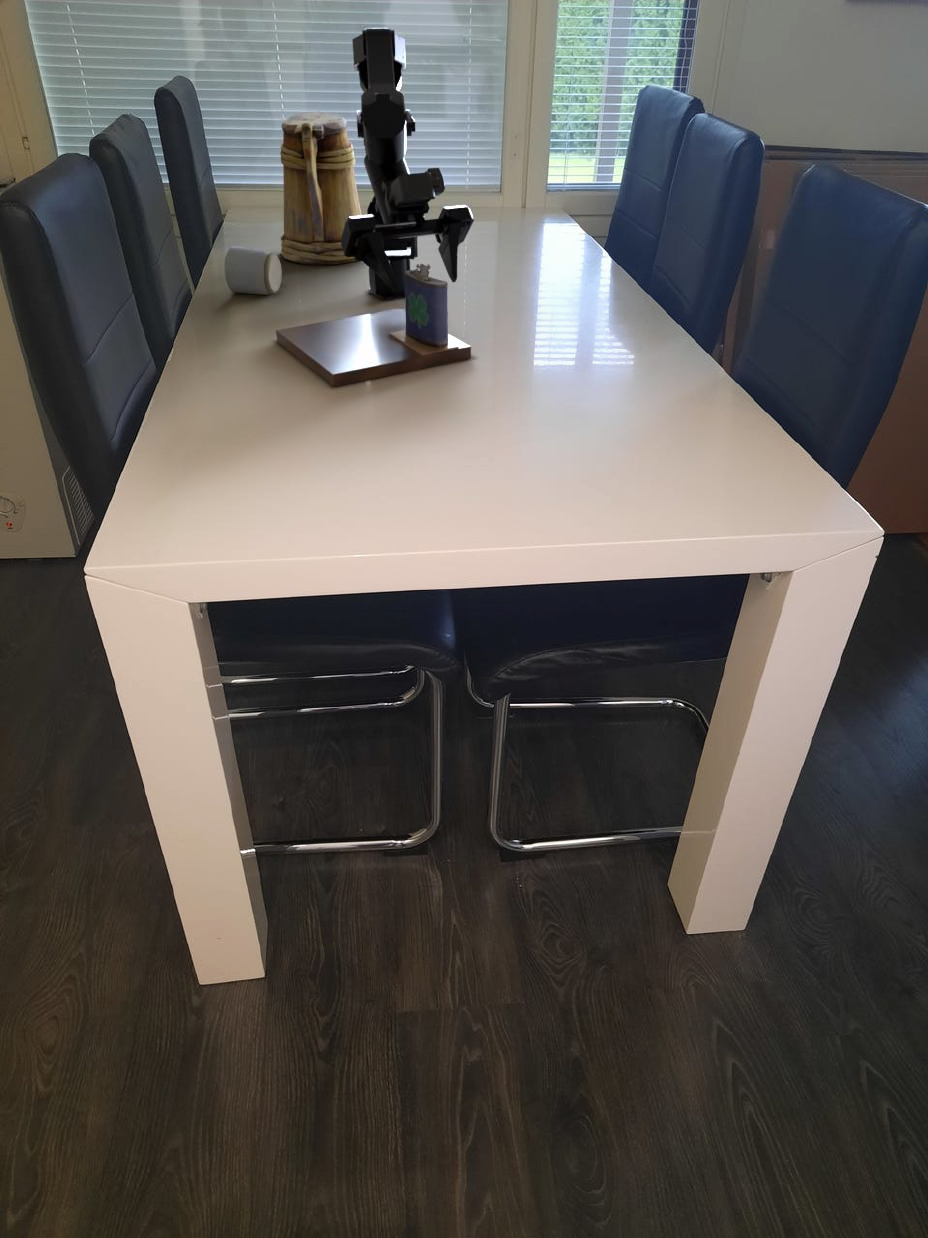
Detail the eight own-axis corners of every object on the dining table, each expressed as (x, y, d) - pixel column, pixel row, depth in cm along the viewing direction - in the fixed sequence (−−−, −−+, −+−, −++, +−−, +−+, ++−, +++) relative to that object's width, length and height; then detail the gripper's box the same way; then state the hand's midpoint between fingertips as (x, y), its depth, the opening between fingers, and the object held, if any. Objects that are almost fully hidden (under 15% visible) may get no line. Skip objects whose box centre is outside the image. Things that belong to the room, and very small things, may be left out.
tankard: (369, 242, 184) (361, 108, 170) (370, 271, 166) (361, 123, 151) (285, 244, 183) (268, 109, 168) (276, 274, 164) (257, 124, 149)
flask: (452, 345, 125) (450, 268, 118) (435, 350, 123) (433, 272, 117) (416, 330, 131) (412, 255, 124) (400, 333, 129) (396, 259, 123)
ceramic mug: (270, 300, 150) (264, 253, 146) (227, 297, 152) (220, 251, 147) (292, 284, 159) (287, 240, 154) (251, 282, 160) (245, 238, 156)
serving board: (402, 318, 142) (402, 305, 141) (471, 358, 127) (471, 344, 125) (277, 341, 133) (275, 327, 132) (334, 387, 118) (332, 372, 116)
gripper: (340, 150, 112) (375, 258, 110) (468, 141, 118) (503, 243, 117) (326, 205, 122) (359, 304, 121) (445, 194, 129) (477, 288, 127)
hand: (425, 284), depth 121 cm, fingers open, 9 cm apart
